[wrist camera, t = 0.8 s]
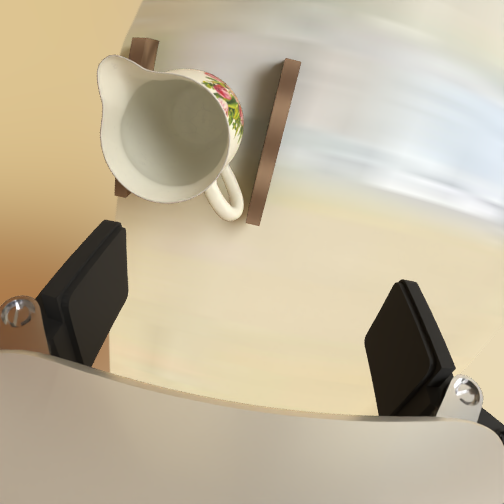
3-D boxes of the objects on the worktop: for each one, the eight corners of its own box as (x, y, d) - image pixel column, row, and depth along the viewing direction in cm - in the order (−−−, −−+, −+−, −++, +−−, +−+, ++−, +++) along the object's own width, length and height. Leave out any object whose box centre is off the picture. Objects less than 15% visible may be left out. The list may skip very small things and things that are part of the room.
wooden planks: (146, 40, 29) (132, 37, 26) (298, 63, 30) (301, 61, 26) (128, 183, 38) (114, 195, 35) (260, 211, 39) (259, 225, 36)
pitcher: (207, 209, 39) (178, 273, 28) (125, 89, 32) (56, 103, 20) (287, 166, 36) (293, 216, 24) (203, 34, 29) (162, 12, 17)
